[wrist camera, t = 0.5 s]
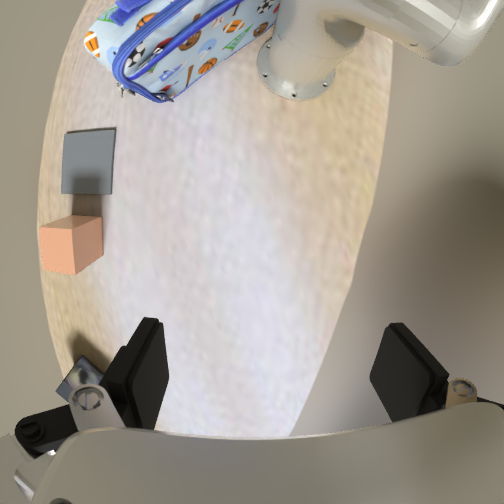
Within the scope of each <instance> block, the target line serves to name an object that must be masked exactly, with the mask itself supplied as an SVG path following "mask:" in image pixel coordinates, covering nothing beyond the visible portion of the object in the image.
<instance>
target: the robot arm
mask: <svg viewBox="0 0 504 504" xmlns="http://www.w3.org/2000/svg"><path fill="white" fill-rule="evenodd" d="M503 9H504V0H281V1H280V6H279V11H278V15H277V20H276V24H275V28H274V32H273V37H272V38H271V39H270V40H269V41H267V42H266V43H265V44H264V45H263V46H262V48H261V50H260V51H259V54H258V58H257V71H258V74H259V77H260V78H261V80H262V82H263V83H264V84H265V85H266V87H267V88H268V89H269V90H271V91H272V92H273V93H275V94H277V95H278V96H280V97H283V98H285V99H289V100H294V101H306V100H311V99H314V98H317V97H319V96H320V95H322V94H323V93H324V92H326V91H327V90H328V89H329V88H330V86H331V84H332V82H333V80H334V77H335V67H336V66H337V65H338V64H339V63H340V62H341V61H342V60H343V59H344V58H345V57H346V56H347V55H349V54H350V52H351V51H352V50H353V49H354V48H355V47H356V46H357V45H358V44H359V43H360V41H361V40H362V37H363V35H364V30H365V27H367V28H369V29H371V30H374V31H376V32H378V33H380V34H382V35H384V36H386V37H388V38H390V39H392V40H394V41H396V42H397V43H399V44H401V45H403V46H405V47H406V48H408V49H410V50H411V51H413V52H415V53H417V54H418V55H420V56H422V57H423V58H425V59H427V60H429V61H431V62H433V63H435V64H438V65H441V66H455V65H458V64H460V63H463V62H464V61H466V60H467V59H468V58H469V57H471V56H472V55H473V54H474V52H475V51H476V50H477V49H478V48H479V46H480V45H481V44H482V43H483V41H484V40H485V38H486V37H487V35H488V33H489V32H490V30H491V29H492V27H493V25H494V24H495V22H496V21H497V19H498V17H499V16H500V14H501V12H502V11H503ZM267 47H269V48H267ZM264 75H266V76H267V77H264ZM323 85H325V87H324V86H323ZM292 95H295V97H293V96H292ZM448 377H449V373H448V372H447V371H446V370H445V369H444V367H443V366H442V365H441V364H440V363H439V362H438V361H437V360H436V358H435V357H434V356H433V355H432V354H431V353H430V352H429V351H428V349H427V348H426V347H425V346H424V345H423V344H422V343H421V342H420V341H419V340H418V339H417V338H416V336H415V335H414V334H413V333H412V332H411V331H410V330H409V329H408V328H407V327H406V326H405V325H404V324H403V323H390V324H389V326H388V327H386V328H385V331H384V334H383V337H382V340H381V343H380V347H379V350H378V353H377V356H376V359H375V361H374V364H373V367H372V370H371V373H370V381H371V383H372V385H373V387H374V389H375V391H376V392H377V394H378V396H379V398H380V400H381V402H382V403H383V405H384V407H385V409H386V411H387V413H388V415H389V417H390V419H391V420H392V423H388V424H382V425H378V426H372V427H367V428H361V429H355V430H349V431H342V432H334V433H326V434H317V435H304V436H288V437H222V436H206V435H193V434H183V433H174V432H166V431H157V430H154V428H155V424H156V421H157V417H158V414H159V411H160V407H161V404H162V401H163V397H164V394H165V391H166V388H167V384H168V381H169V370H168V362H167V354H166V346H165V337H164V327H163V323H162V322H159V320H158V319H157V318H148V317H144V318H143V319H142V321H141V322H140V324H139V326H138V327H137V329H136V331H135V332H134V334H133V335H132V337H131V339H130V340H129V342H128V344H127V345H126V346H122V347H121V348H120V349H119V351H118V353H117V354H116V356H115V357H114V359H113V361H112V362H111V364H110V366H109V367H108V369H107V371H106V372H105V374H104V376H103V378H102V379H101V381H100V383H99V384H98V385H96V384H83V385H80V386H78V387H76V388H75V389H73V390H72V392H71V393H70V395H69V398H68V401H69V404H68V405H65V406H61V407H58V408H55V409H52V410H48V411H45V412H42V413H38V414H34V415H31V416H27V417H25V418H23V419H21V420H20V421H19V422H18V424H17V425H16V428H15V434H14V435H12V436H10V434H6V435H5V436H3V437H1V438H0V504H504V405H502V404H499V403H496V402H493V401H489V400H486V399H483V398H479V397H477V389H476V387H475V386H474V384H473V383H472V382H470V381H468V380H467V379H464V378H454V379H452V380H451V381H450V382H448V381H447V379H448Z"/></svg>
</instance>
